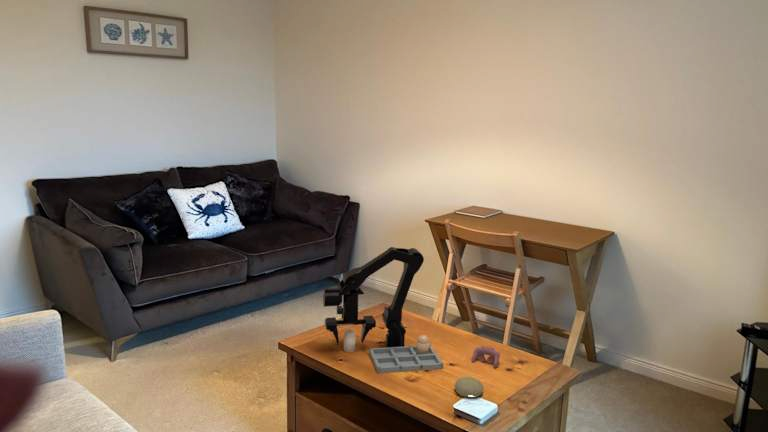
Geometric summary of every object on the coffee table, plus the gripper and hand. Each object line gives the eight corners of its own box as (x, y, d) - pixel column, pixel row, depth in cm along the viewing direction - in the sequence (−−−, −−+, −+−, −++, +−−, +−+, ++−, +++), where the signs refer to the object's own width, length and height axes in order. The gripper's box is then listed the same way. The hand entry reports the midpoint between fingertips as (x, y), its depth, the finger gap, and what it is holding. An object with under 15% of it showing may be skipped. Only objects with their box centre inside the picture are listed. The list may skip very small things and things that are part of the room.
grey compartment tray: (430, 350, 227) (430, 344, 226) (443, 369, 211) (443, 363, 211) (369, 354, 222) (369, 348, 221) (377, 374, 206) (378, 368, 206)
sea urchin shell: (479, 397, 189) (463, 376, 191) (462, 408, 193) (447, 387, 195) (489, 386, 197) (475, 366, 198) (473, 396, 201) (459, 376, 202)
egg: (354, 346, 228) (354, 327, 226) (356, 351, 223) (356, 332, 222) (342, 347, 227) (343, 328, 225) (344, 352, 222) (344, 333, 221)
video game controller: (498, 368, 217) (502, 349, 218) (496, 368, 213) (499, 348, 214) (472, 363, 221) (476, 344, 222) (469, 362, 217) (473, 343, 218)
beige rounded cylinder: (426, 351, 224) (427, 332, 223) (430, 357, 220) (431, 337, 218) (414, 352, 223) (415, 333, 222) (418, 357, 219) (419, 338, 217)
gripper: (371, 296, 231) (369, 333, 234) (323, 298, 227) (322, 336, 230) (376, 306, 220) (375, 345, 224) (326, 309, 216) (326, 348, 220)
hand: (349, 343), depth 225 cm, fingers open, 9 cm apart
